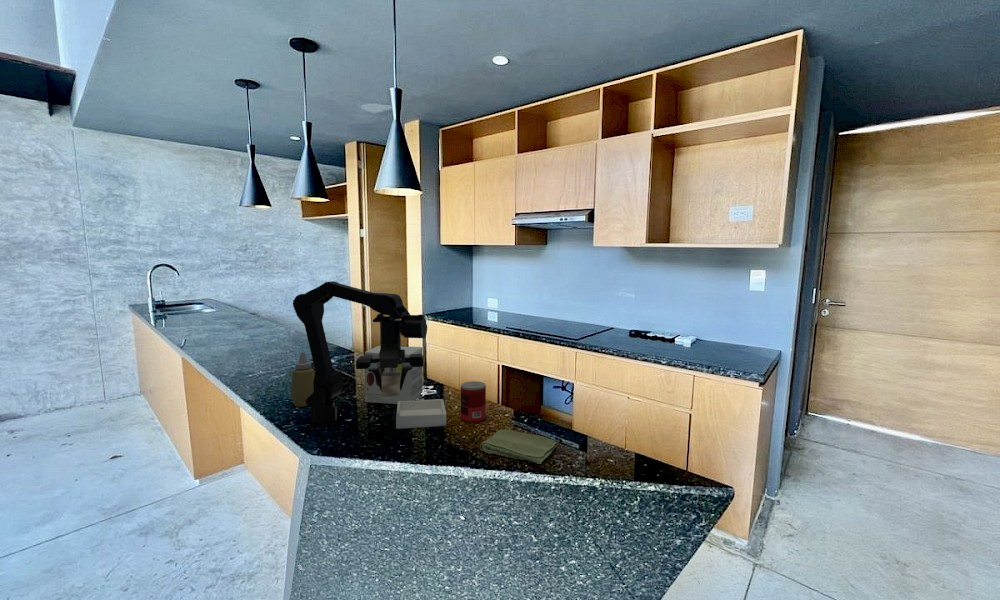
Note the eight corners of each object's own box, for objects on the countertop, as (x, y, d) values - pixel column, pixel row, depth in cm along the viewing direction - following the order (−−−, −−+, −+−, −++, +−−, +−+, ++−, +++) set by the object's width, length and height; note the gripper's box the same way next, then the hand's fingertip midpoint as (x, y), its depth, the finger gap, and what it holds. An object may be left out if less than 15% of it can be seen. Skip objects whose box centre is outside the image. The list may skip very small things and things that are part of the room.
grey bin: (396, 428, 120) (396, 417, 119) (398, 411, 134) (397, 401, 134) (446, 425, 123) (446, 414, 122) (442, 409, 137) (442, 399, 137)
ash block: (381, 396, 117) (381, 376, 117) (383, 391, 122) (383, 371, 122) (399, 396, 118) (399, 375, 118) (400, 390, 123) (400, 371, 123)
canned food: (489, 416, 131) (489, 382, 130) (477, 425, 123) (478, 389, 123) (468, 413, 134) (468, 380, 133) (455, 421, 127) (456, 386, 126)
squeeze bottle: (285, 406, 138) (283, 353, 136) (304, 399, 145) (303, 349, 144) (303, 409, 135) (301, 355, 133) (322, 402, 142) (321, 351, 141)
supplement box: (363, 403, 142) (363, 351, 141) (379, 392, 156) (378, 345, 154) (411, 405, 140) (411, 353, 139) (423, 394, 154) (423, 346, 152)
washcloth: (542, 469, 97) (542, 456, 97) (477, 454, 105) (477, 442, 105) (559, 448, 109) (559, 436, 109) (499, 436, 117) (499, 425, 117)
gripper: (352, 343, 109) (353, 400, 110) (423, 341, 113) (423, 397, 114) (358, 336, 120) (359, 388, 121) (423, 335, 123) (423, 385, 125)
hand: (391, 390), depth 120 cm, fingers closed on ash block, 5 cm apart
